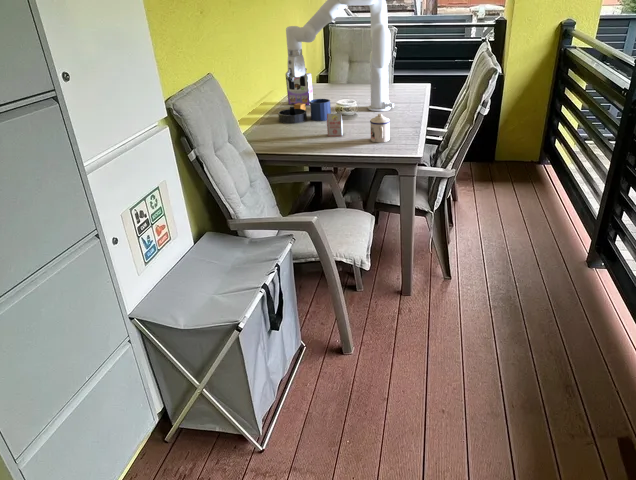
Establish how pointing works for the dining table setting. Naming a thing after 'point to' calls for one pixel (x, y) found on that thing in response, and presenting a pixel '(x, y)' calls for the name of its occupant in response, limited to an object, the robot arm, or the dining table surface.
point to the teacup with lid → (380, 129)
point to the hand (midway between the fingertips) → (297, 87)
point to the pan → (292, 116)
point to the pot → (320, 109)
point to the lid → (292, 111)
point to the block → (300, 106)
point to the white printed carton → (334, 125)
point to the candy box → (300, 91)
